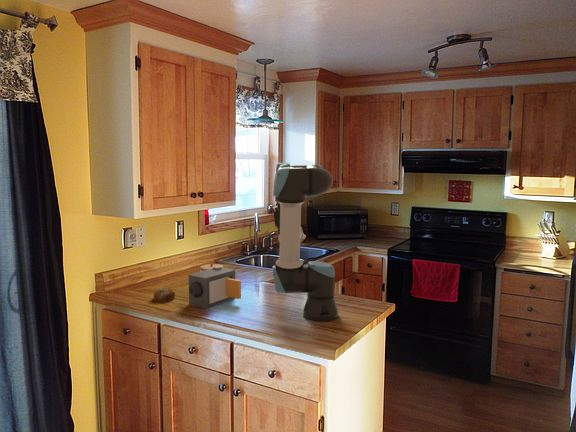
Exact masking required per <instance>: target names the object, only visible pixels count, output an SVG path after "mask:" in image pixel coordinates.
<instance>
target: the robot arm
mask: <svg viewBox="0 0 576 432" xmlns="http://www.w3.org/2000/svg"><path fill="white" fill-rule="evenodd" d="M333 184H334V178H333V175H332V173H331V172H330V171H329V170H327V169H326V168H324V167H323V166H322V165H320V164H319V165H318V164H291V163H288V162H278V163H276V167H275V176H274V180H273V191H272V192H273V193H272V195H273V197H274V200H275V202H276V203H275V206H274V207H272V208H271V209H272V213H273V218H274V225H275V227H276V228H277V235H278V236H277V237H278V239H277V240H278V242H279V257H278V259H276V261H275V265H273V266H272V273H273V282H274V283H273V284H274V289H275V292H276V293H278V294H300V293H301V294H306V293H307V294H306V295H307V297H306V298H307V299H306V300H305V305H304V306H303V311H302V316H303V317H304V318H305V319H307V320H309V321H314V320H315V322H316V321H317V322H327V321H328V320H329V321H332V320H333V319H334V320H336V319H337V318H338V317H339V311H338V307H337V303H336V301H335V281H336V280H335V278H336V274H335V267H334V265H332V264H330V263H328V262H325V261H318V260H316V261H315V260H311V261H308V262H307V263H306V265H304V261H303V260H302V259H301V258H300V256H301V255H300V253H301V230H302V229H301V227H302V226H301V225H302V224H301V222H302V220H301V219H302V205H303V204H304V203H305V202H306V197H317V196H322V195H324V194H325V193H328V191H330V189H331V188H332V187H333ZM335 318H336V319H335Z"/></svg>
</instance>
